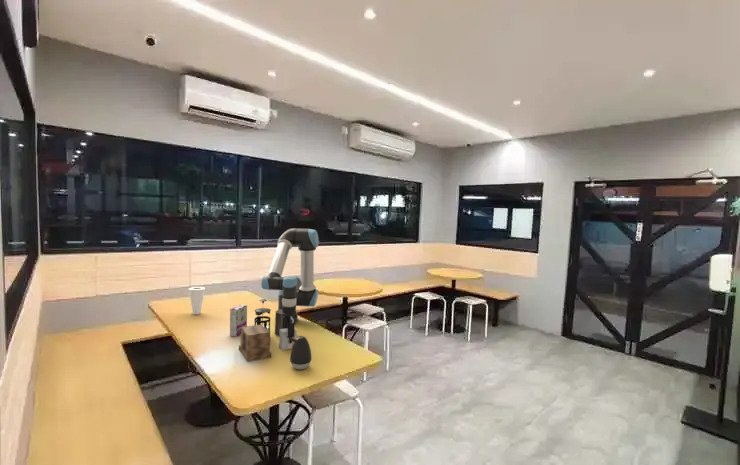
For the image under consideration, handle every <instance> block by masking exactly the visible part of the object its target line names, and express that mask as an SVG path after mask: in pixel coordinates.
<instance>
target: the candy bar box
mask: <svg viewBox="0 0 740 465" xmlns="http://www.w3.org/2000/svg"><path fill="white" fill-rule="evenodd" d="M247 323H248V304H237V305H236V306H234V307H232V308H229V336H230V337H238V336H241V327H247V326H248V324H247Z"/></svg>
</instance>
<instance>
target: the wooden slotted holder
mask: <svg viewBox="0 0 740 465" xmlns="http://www.w3.org/2000/svg"><path fill="white" fill-rule="evenodd" d="M270 347H271V331H270V332H269V331H268V330H267V329H266V328H265V327H264V324H263V325H262V324H261V325H257V324H256V325H247V327H241V335H240V345H238V351H239V352H240V354H241V355H242V356H243V357H244V359H245V361H246V362H252V361H257V360H262V359H263V360H265V359H267V358H272V352H271V350H270Z"/></svg>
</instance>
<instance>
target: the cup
mask: <svg viewBox="0 0 740 465" xmlns="http://www.w3.org/2000/svg"><path fill="white" fill-rule="evenodd" d="M205 291H206V286H205V287H204V286H192V287H189V288H188V293H189V298H190V306H191V310H192V315H199V314H201V313H202V307H203V303H204V296H205Z"/></svg>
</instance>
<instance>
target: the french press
mask: <svg viewBox="0 0 740 465" xmlns="http://www.w3.org/2000/svg"><path fill="white" fill-rule="evenodd" d="M267 301H268V300H267V299H265V298H264V299H260V300H259V302H261V303H262V304H264V303H265V302H267ZM271 311H272V309H270V308H267V307H261V308H256V309H255V310H254V312H255V315H256V317H254V323H253V324H254V325H263V326H264V327H265V328H266V329H267V330H268V331H269V332H270V333H271V317H270V316H267V315H264V314H265V313H267V314H269V315H270V313H271ZM264 319H265V320H264ZM254 325H253V326H254Z"/></svg>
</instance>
